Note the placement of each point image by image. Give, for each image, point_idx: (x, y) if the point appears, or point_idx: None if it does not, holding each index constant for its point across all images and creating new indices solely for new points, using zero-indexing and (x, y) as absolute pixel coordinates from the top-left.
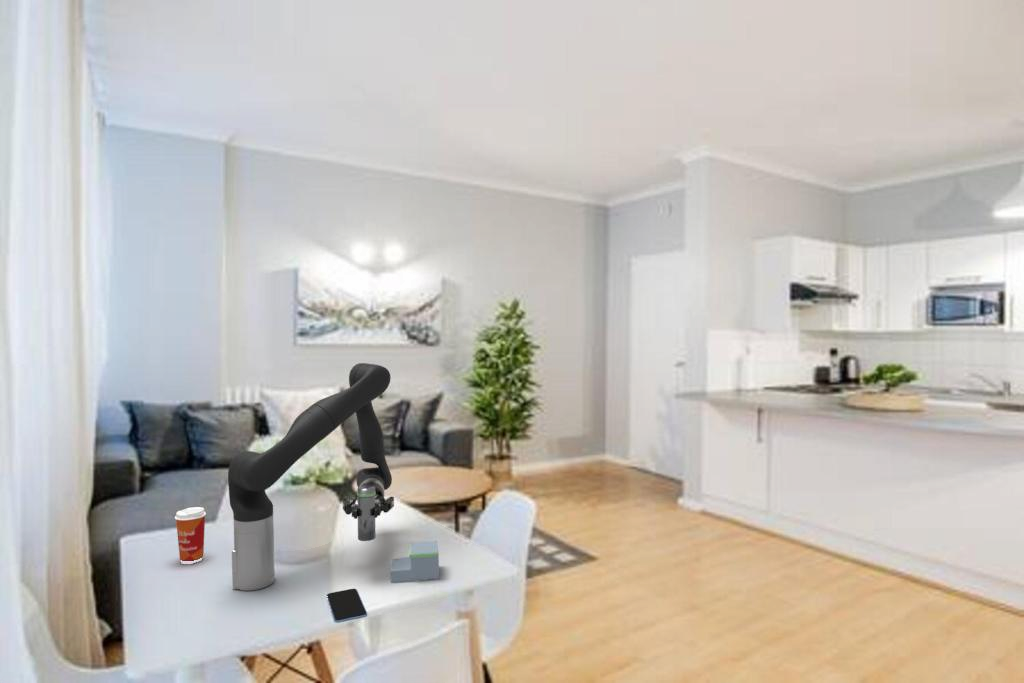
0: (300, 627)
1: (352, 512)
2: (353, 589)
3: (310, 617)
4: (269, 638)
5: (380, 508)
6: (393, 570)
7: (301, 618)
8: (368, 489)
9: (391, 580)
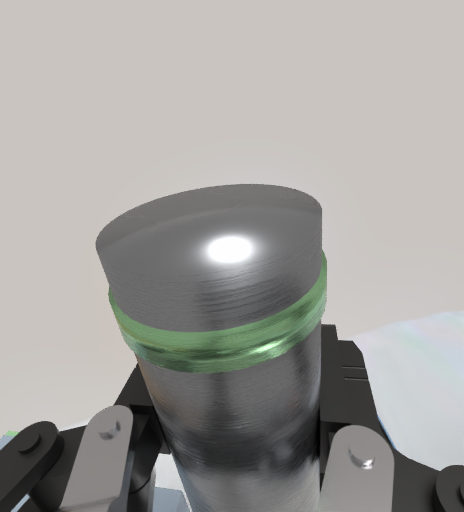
0: (402, 336)
1: (350, 346)
2: (320, 482)
3: (399, 365)
4: (446, 317)
5: (129, 384)
6: (171, 494)
7: (420, 365)
8: (199, 193)
9: (187, 508)
